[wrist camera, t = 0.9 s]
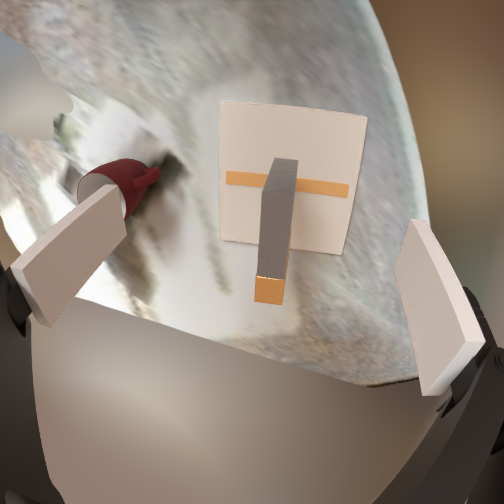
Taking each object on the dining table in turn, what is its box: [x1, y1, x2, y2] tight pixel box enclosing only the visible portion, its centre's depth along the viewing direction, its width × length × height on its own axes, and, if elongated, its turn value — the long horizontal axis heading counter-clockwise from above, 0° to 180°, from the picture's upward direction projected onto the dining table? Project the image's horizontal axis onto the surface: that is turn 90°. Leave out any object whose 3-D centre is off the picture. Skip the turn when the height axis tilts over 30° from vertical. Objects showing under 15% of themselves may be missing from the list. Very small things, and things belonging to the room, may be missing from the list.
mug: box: [77, 159, 161, 221], centre depth 38 cm, size 11×8×10 cm
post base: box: [219, 102, 368, 255], centre depth 36 cm, size 20×18×8 cm
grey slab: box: [254, 158, 298, 305], centre depth 29 cm, size 11×3×9 cm, turn 178°
